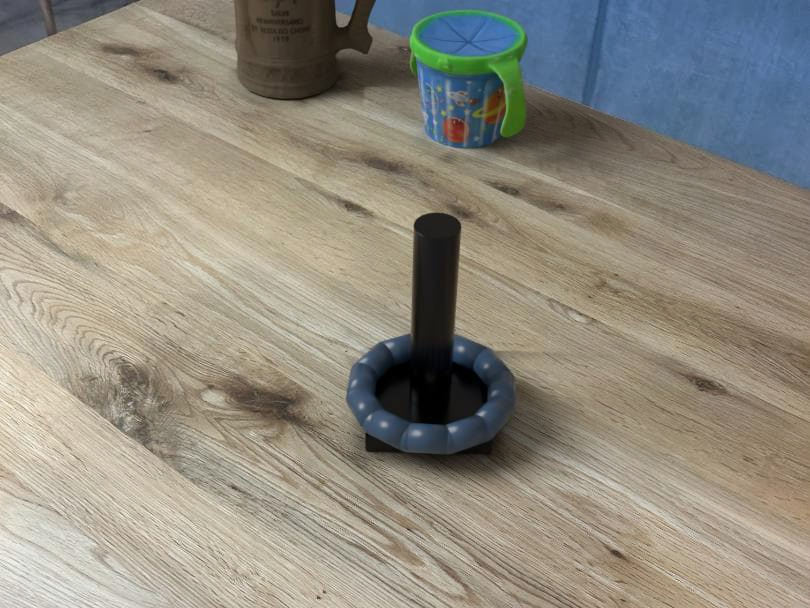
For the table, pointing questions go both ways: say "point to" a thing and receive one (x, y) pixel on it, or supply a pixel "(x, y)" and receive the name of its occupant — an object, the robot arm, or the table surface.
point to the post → (432, 341)
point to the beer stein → (295, 44)
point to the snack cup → (469, 76)
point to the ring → (431, 435)
